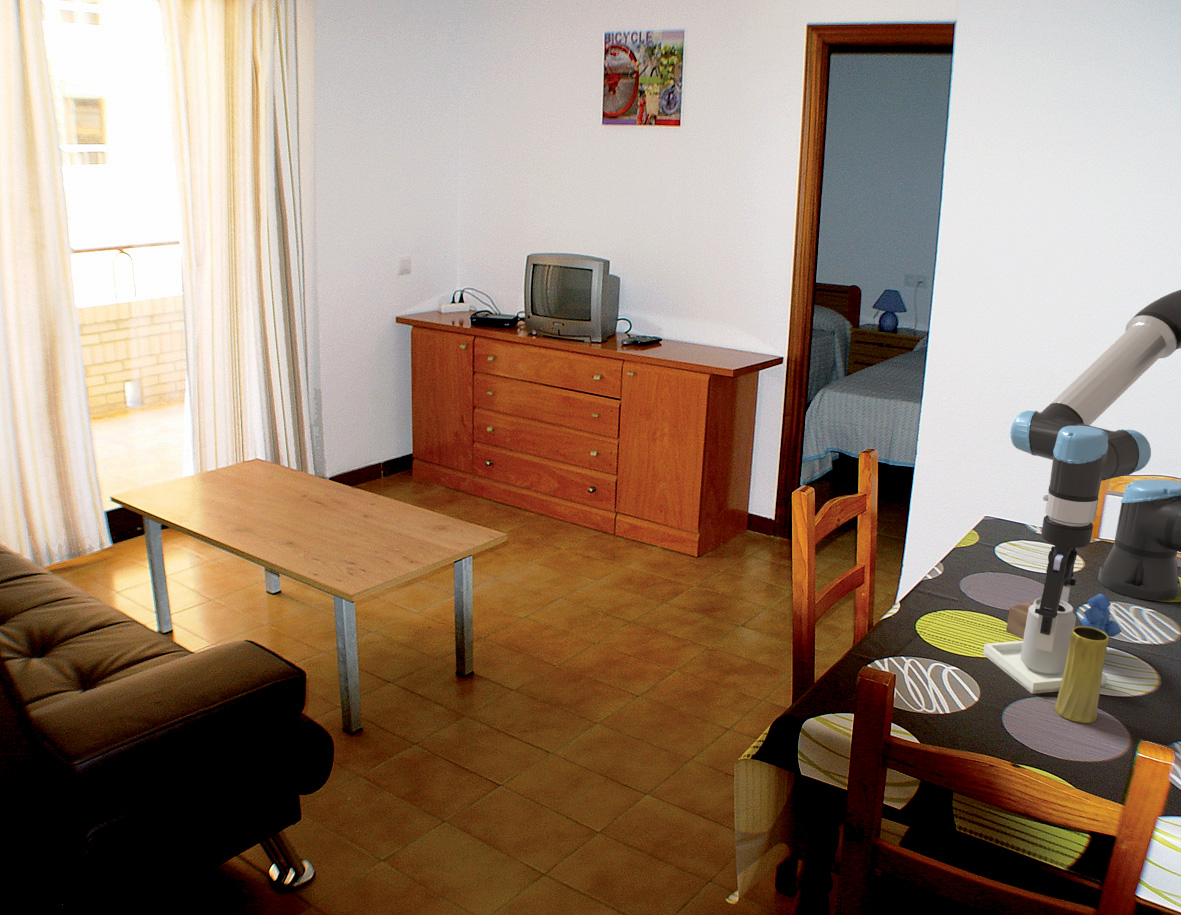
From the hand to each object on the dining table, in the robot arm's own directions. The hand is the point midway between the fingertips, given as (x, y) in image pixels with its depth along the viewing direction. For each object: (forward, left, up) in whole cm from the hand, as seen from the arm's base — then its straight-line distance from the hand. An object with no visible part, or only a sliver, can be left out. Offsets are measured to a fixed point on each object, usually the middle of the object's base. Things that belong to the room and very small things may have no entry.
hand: (1049, 633), depth 169 cm
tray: (0, 0, -7) cm, 7 cm away
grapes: (-13, -3, -7) cm, 15 cm away
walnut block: (-6, -13, -7) cm, 16 cm away
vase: (+4, +14, -7) cm, 16 cm away
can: (0, 0, -6) cm, 6 cm away
